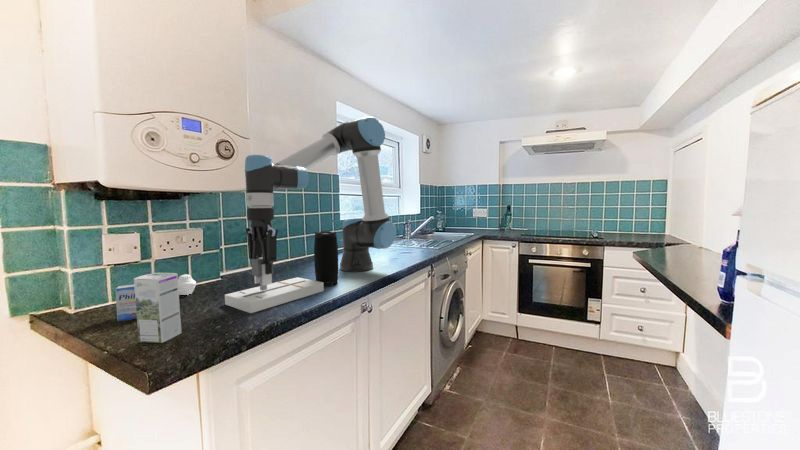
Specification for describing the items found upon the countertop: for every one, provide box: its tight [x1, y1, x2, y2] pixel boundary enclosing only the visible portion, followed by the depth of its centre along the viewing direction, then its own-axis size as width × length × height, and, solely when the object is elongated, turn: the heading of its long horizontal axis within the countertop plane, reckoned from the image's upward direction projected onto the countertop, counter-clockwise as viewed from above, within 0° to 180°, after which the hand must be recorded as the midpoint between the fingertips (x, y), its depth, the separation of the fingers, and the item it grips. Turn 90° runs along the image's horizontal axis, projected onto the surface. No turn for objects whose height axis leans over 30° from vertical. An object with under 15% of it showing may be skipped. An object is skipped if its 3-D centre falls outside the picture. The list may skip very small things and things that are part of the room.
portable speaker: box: [313, 230, 339, 288], centre depth 115 cm, size 9×9×20 cm
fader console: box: [224, 276, 325, 314], centre depth 100 cm, size 26×14×3 cm, turn 145°
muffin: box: [178, 273, 197, 296], centre depth 104 cm, size 6×6×7 cm
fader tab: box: [250, 256, 275, 291], centre depth 95 cm, size 5×4×10 cm
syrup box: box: [133, 272, 182, 344], centre depth 69 cm, size 6×6×14 cm
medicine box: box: [114, 283, 137, 322], centre depth 84 cm, size 8×4×9 cm, turn 123°
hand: (263, 283), depth 96 cm, fingers closed on fader tab, 3 cm apart
